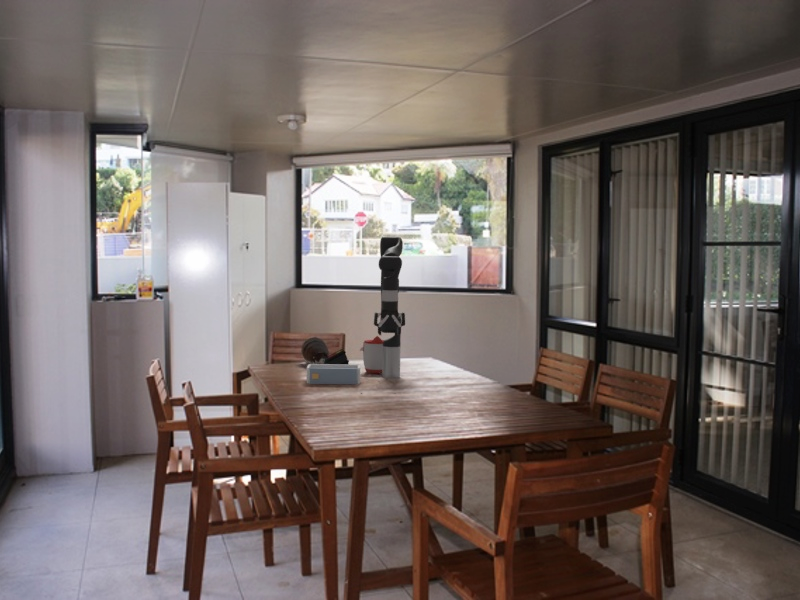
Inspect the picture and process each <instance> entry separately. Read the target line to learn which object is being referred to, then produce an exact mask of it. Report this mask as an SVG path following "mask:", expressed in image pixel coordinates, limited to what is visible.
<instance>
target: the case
mask: <svg viewBox="0 0 800 600" xmlns="http://www.w3.org/2000/svg"><path fill="white" fill-rule="evenodd" d="M310 368H357V384H356V385H360V384H361V364H349V365H342V364H307V366H306V384H310Z"/></svg>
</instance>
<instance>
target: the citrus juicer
mask: <svg viewBox="0 0 800 600" xmlns="http://www.w3.org/2000/svg"><path fill="white" fill-rule="evenodd" d="M384 340H385V339H381V337H380V336H379V335H376V336H375V337H373V339H366V340H363V341H364V342H363V345H362V347H361V348H360V349H359V352H361V351H362V356H363V358H362V360H363V367H364V370H365V372H366V373H368V374H370V373H372V374H380V373H382V362H383V341H384Z"/></svg>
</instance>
